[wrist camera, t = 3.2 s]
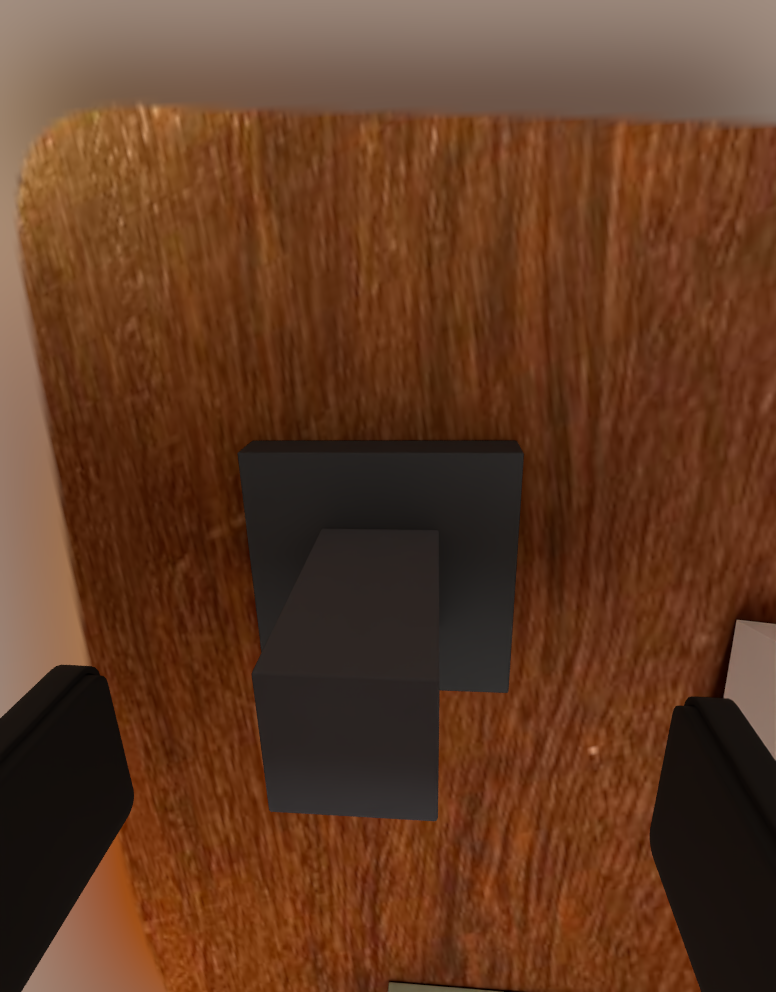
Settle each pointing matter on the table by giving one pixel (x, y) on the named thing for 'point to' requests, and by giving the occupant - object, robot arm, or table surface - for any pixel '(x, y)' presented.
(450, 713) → the table surface
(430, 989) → the frame tray
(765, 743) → the bracket
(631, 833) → the table surface
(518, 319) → the table surface
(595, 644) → the table surface
